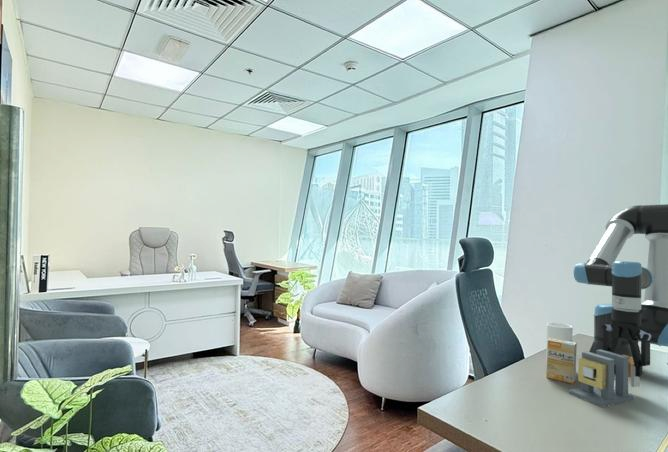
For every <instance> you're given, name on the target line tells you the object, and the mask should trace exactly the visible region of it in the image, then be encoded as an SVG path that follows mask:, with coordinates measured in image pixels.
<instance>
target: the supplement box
mask: <svg viewBox="0 0 668 452" xmlns="http://www.w3.org/2000/svg"><path fill="white" fill-rule="evenodd" d="M546 345H547V367H546V373H545V374H546V377H545V378H547V379H551V380H555V381H560V382H565V383H568V384H572V385H574V383H575V382H576V377H577V376H576V374H577V373H576V372H577V371H576V370H577V345H578V344H577V342H574V341H572V342H569V341H564V340H558V339H553V338H549V339H548V344H547V343H546Z"/></svg>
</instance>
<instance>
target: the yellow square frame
mask: <svg viewBox="0 0 668 452" xmlns="http://www.w3.org/2000/svg"><path fill="white" fill-rule="evenodd" d="M583 366H587V367H590V368H593V369H596V378H595V379H592V378H589V377H586V376H583ZM577 367H578V371H577V372H578V373H577V376H578V377H577V378H578V379H577V381H578V382H579V383H581V382H583V383H585V384H588V385H591V386H593V387H596V388H599V389H602V390H603V389H606V379H607V365H606V364H602V363H599V362H596V361H593V360H589V359H586V358H582V357H578V366H577Z"/></svg>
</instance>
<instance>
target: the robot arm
mask: <svg viewBox="0 0 668 452" xmlns="http://www.w3.org/2000/svg"><path fill="white" fill-rule="evenodd" d="M639 234H640V235H644V237H645V238H646V240H648V242H649V244H648V245H649V246H648V255H647V256H648V257H647V265H646V266H647V267H643V266H642V263H640V262H638V261H627V260H626V261H624V260H617V258H618V256H619V255H620V252H621V250H622V249H623V248H624V245H625V244H626V241H627V240H628V239H631V238H632V237H633V235H639ZM573 278H574V281H575V282H577V283H579V284H584V285H585V284H586V285H592V286H602V287H611V303H599V304H597V305H595V307H594V314H593V323H594V324H593V342H592V344H591V346H590V349H589V351H588V352H591V353H594V354H596V350H605V351H608V352H612V353H616V354H619V355H627V356H631V357H633V361H634V364H633V365H631V377H630V378H631V379H630V380H631V383H630V384H631V385H630V386H631V387H632V388H636V387H639V386H640V377H643V367H647V366H650V365H651V345H656V346H659V347H668V204H667V203H666V204H646V205H642V204H640V205H633V206H632V205H631V206H629V207H626V208H624V209H621V210H620V211H619V212H617V213H616V214H614V215H613V216H612V217H610V219H608V221H607V223H606V225H605V232H604V234H603V235H602V237H601V238H600V240H599V241H598V243H597V245H596V247H595V248H594V250H593V251H592V253H591V255H590V256H589V258H588V260H587V261H586V263H585V262H579V263H576V264H575V265H574V267H573ZM642 290H644V294H643V295H644V296H643V301H642ZM639 342H640V346H639ZM614 382H616V375H614Z"/></svg>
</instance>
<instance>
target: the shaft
mask: <svg viewBox="0 0 668 452" xmlns="http://www.w3.org/2000/svg"><path fill="white" fill-rule="evenodd" d="M623 356H626V357H629V365H628V379H630V378H631V365H633V364H634V361H633V357H631V356H627V355H623ZM614 375H616V361H614ZM583 376H586V377H589V378H592V379H596V369H593V368H590V367H587V366H583Z"/></svg>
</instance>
